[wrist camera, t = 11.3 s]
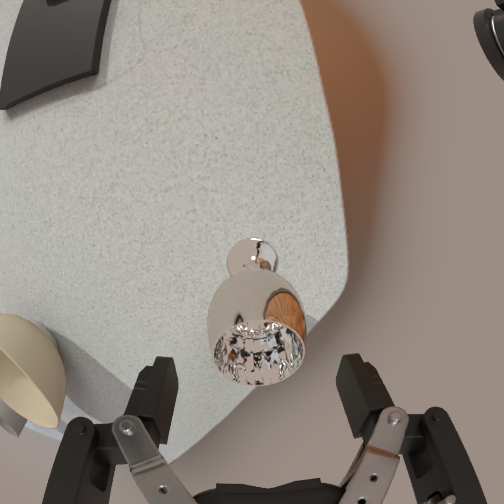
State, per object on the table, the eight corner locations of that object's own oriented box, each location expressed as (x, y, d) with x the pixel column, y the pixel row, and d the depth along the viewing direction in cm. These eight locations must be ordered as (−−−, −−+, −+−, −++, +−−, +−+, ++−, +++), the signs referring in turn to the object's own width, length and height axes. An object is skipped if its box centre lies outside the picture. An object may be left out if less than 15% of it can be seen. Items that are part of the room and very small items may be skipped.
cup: (17, 374, 31) (-7, 408, 22) (43, 405, 34) (24, 439, 25) (2, 375, 32) (-19, 405, 23) (26, 403, 35) (8, 434, 25)
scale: (34, -11, 10) (23, -18, 7) (128, -53, 11) (119, -66, 8) (5, 110, 17) (-12, 110, 14) (98, 73, 17) (81, 66, 14)
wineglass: (266, 299, 25) (280, 401, 14) (209, 275, 24) (185, 372, 13) (296, 247, 24) (337, 332, 12) (236, 219, 23) (228, 289, 11)
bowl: (29, 368, 30) (3, 407, 21) (-8, 283, 24) (-49, 318, 15) (102, 389, 31) (79, 442, 21) (64, 292, 25) (15, 345, 15)
